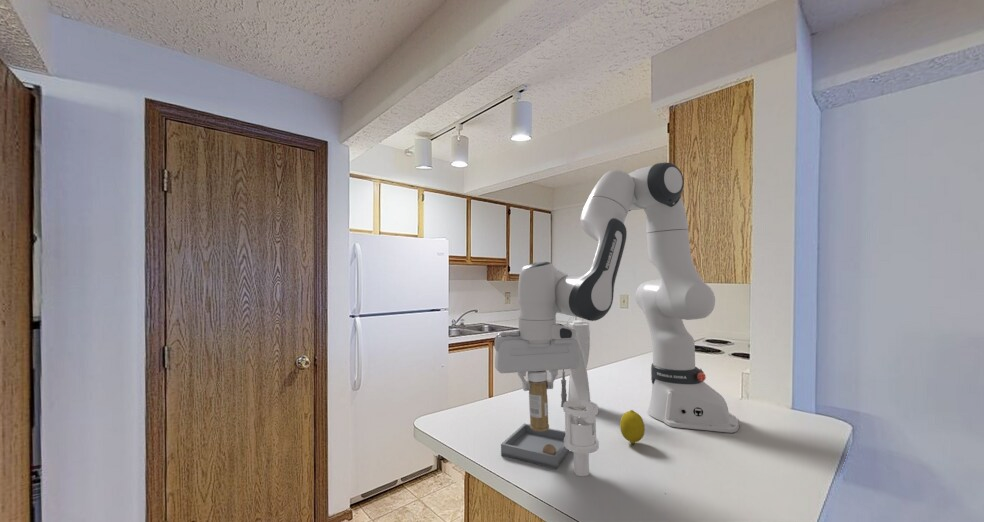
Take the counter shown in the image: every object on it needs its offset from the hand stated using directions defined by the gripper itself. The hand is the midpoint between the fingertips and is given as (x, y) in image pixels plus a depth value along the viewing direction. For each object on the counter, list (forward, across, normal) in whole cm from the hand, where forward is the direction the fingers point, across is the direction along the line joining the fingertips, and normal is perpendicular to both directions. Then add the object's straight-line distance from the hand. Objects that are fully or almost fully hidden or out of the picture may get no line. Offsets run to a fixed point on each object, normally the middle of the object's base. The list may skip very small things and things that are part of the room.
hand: (537, 389), depth 90 cm
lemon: (+14, +23, -2) cm, 27 cm away
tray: (+14, 0, 0) cm, 14 cm away
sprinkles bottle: (+9, 0, 0) cm, 9 cm away
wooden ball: (+12, 0, -6) cm, 13 cm away
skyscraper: (+14, +21, +25) cm, 36 cm away
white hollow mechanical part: (+14, +5, -12) cm, 19 cm away
